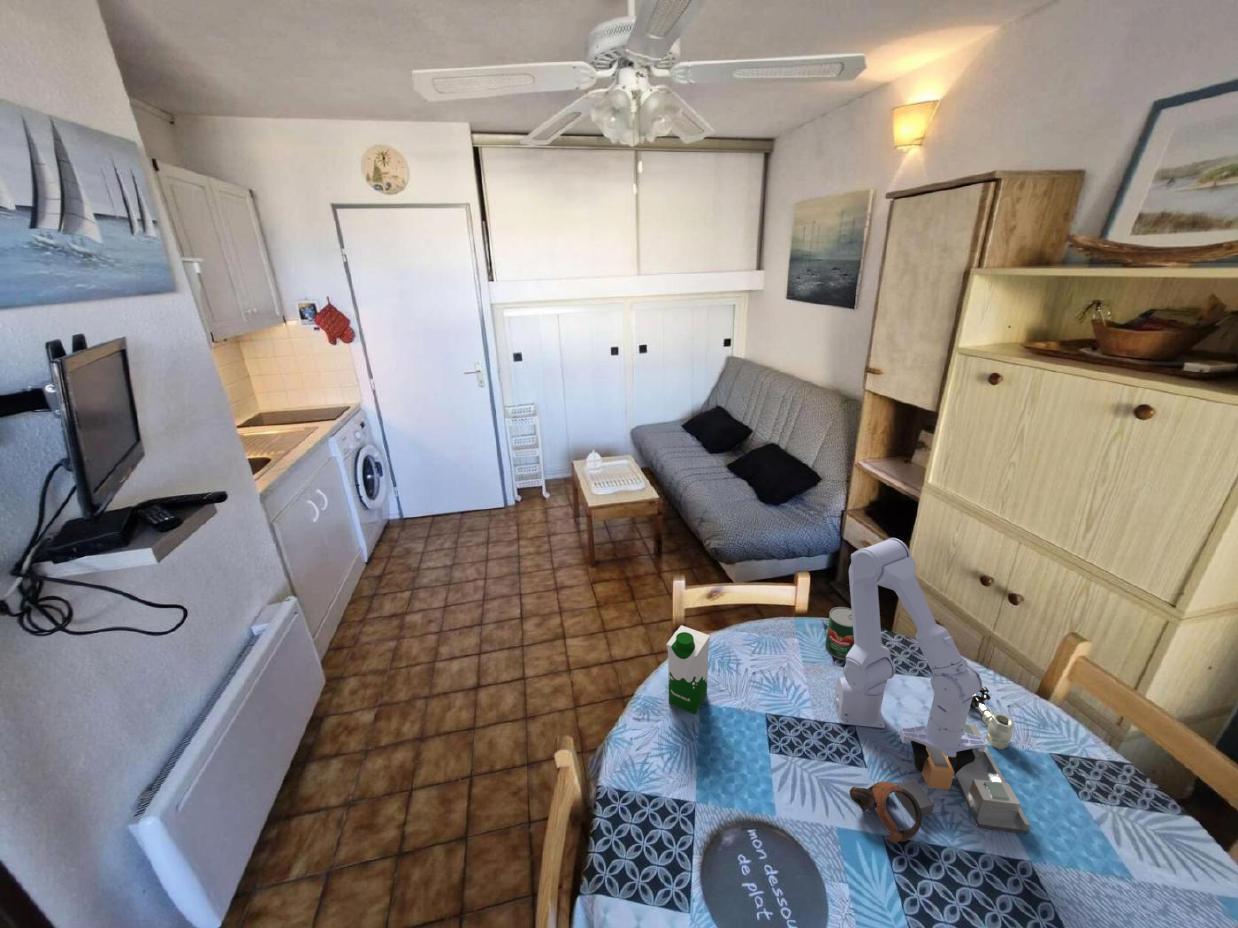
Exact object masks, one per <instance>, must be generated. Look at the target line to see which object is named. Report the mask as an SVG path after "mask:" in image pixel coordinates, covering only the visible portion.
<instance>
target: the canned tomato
mask: <svg viewBox="0 0 1238 928" xmlns="http://www.w3.org/2000/svg"><path fill="white" fill-rule="evenodd" d="M828 614H829V615H828V616H829V617H828V623H827V629H826V630H827V631H826V635H825V637H826V638H825V644H824V648H825V650H826V652H827V653H828V654H829V655H830V656H832V657H833V658H836V659H838V660H845V661H846V655H847V654H848V652H849V651H850V650H851V648H852V647H853V645H854V633H853V620H852V608H849V607H846V606H845V607H844V606H838V607H837V606H835V607H833V608H831V610H830V611H829V613H828Z"/></svg>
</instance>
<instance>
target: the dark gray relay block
mask: <svg viewBox="0 0 1238 928" xmlns="http://www.w3.org/2000/svg"><path fill="white" fill-rule="evenodd" d="M896 785H897V786H898V787H899V788H902V789H905V790H906V791H908V792H909V793H910V794H912V795H913V796H914V798H915V799H916V800H917V802H918V804H919V807H920V808H921V812H922V818H924V817H927V816H930V815H933V813H934V809H935V805H936V804H935V803H934V801H933V799H932V798H930V796H929V795H928V793H927V792H926V791H925V790H924V789H923V788H922V787H921V785H920V784H919V783H918V782H917V781H916V779H912V780H909V781H905V782H902V783H898V784H896ZM894 795H895V797H896V799H898V801H899V802H900V803H901V805H902V806H903V808H904V809H905V810H906V811H907V813H908V814H909V815H910V816H911V818H912V819H913V820H916V813H915V809H914V806H913V804H912V803H911V801H910V800H909V799H908V798H907V797H906V796H905V795H904V794H902V793H899V792H894Z"/></svg>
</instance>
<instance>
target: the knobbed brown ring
mask: <svg viewBox="0 0 1238 928" xmlns="http://www.w3.org/2000/svg"><path fill="white" fill-rule="evenodd" d="M895 792H899V793H902V794H904V795H905V796H906V797H907V798H908V799H909V800H910V801H911V803H912V804H913V806H914V809H915V813H916V819H915V822H914V824H913V825H912V827H910V828H901V830H899V829H898V828H897V824H896V823H895V822H894V821H893V819H892V818H891V816H890V814H889V812H888V809H887V799H888V798H889V795H891V794H892V793H895ZM849 796H850V798H851V800H852V801H853V802H854V803H855V804H857V805H858V806H859V808H860V809H861V812H862V813H864V812H866V810H871V809H872V808H874V807H875V805H877V807H875V812H876V813H877V816H878V817H879V820H880V821H881V822H882V824H883V825H884V827H885V828H886V830H887V831H888V832H889V834H888V835H886V837H885V839H886V840H888V842H892V843H899V842H901V843H904V842H906V841H909V840H911V839H913V838H914V837H915V836H916V835H917V833H918V831H919V830H920V828H921V826H922V824H923V823H922V822H923V817H922V812H921V808H920V807H919V804H918V802H917V800H916V799H915V798H914V796H913V795H912V794H910V793H909V792H908V791H906V790H905V789H902V788H899V787H898V786H897V784H895V783H892V782H891V781H890V782H889V781H877V782H876V783H874V784H872V785H871V786H869V787H868V788H865V787H857V786H852V787H851V788H850V789H849Z"/></svg>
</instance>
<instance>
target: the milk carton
mask: <svg viewBox="0 0 1238 928" xmlns="http://www.w3.org/2000/svg"><path fill="white" fill-rule="evenodd" d="M710 638H711V635H709V634H707V633H705V632H702V631H698V630H696V629H693V628H690V627H688V626H684V625H682V624H681V625H680V626H679V627H678V629H677V630H676V631H675V632H673V635H672V636H671V638H670V639H669V640H668V641H667V643H666V649H667V654H668V655H667V656H668V657H667V663H668V669H667V670H668V672H667V673H668V703H669V704H671V705H673V706H675V707H677V708H681V709H682V710H683V711H687V712H688V711H689V712H688V713H691V714H693V715H696V713H698V710H699V709H700V706H701V705H702V703H703V701H704V700H705V698H706V697H707V696H708V695H707V694H708V676H709V675H708V672H709V670H708V669H709V665H708V664H709V649H710Z"/></svg>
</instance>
